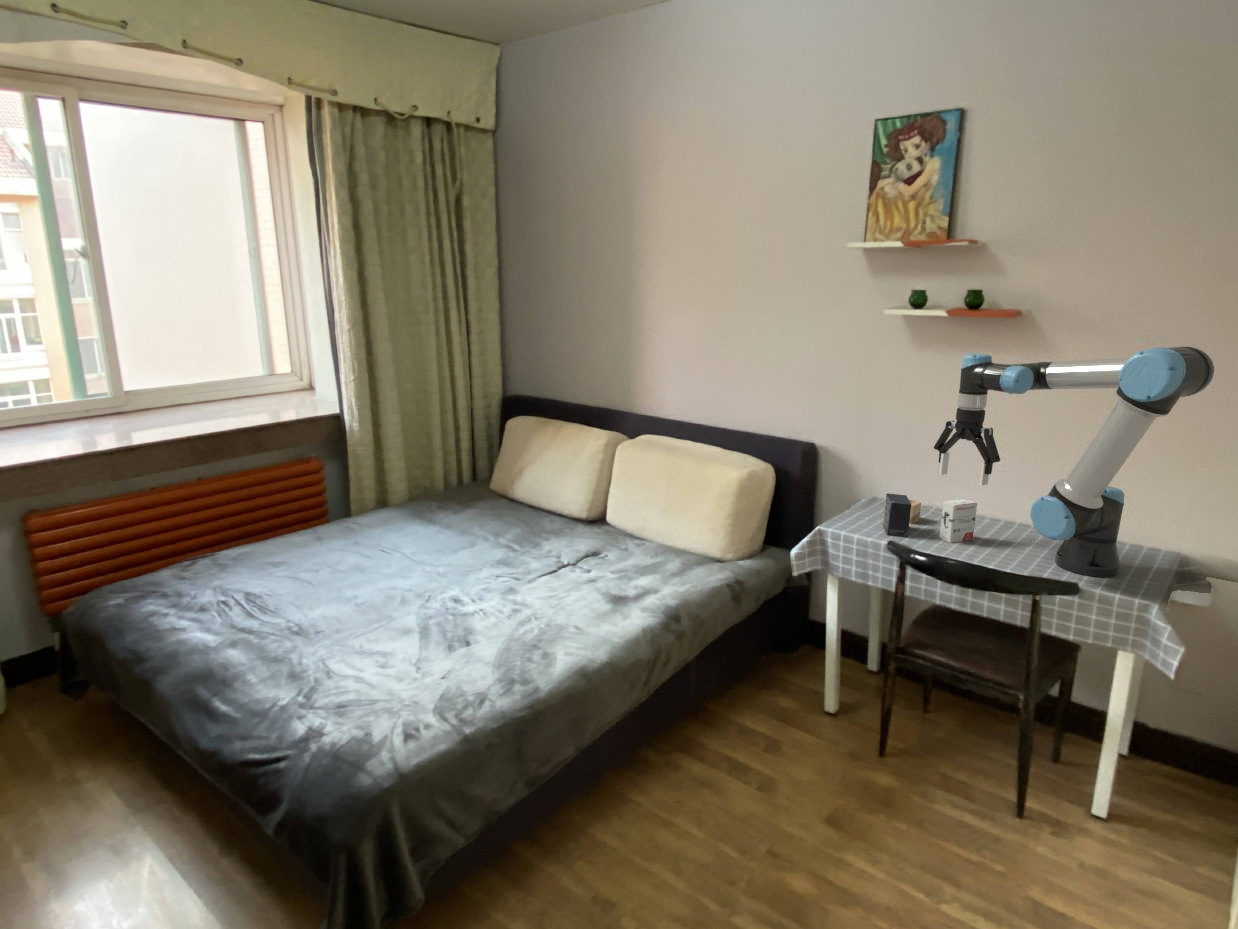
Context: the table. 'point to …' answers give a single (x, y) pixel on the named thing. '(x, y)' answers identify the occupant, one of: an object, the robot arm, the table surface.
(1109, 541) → the robot arm
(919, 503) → the oak cube
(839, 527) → the table surface
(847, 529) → the table surface
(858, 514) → the table surface
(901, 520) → the small box
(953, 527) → the ink box
